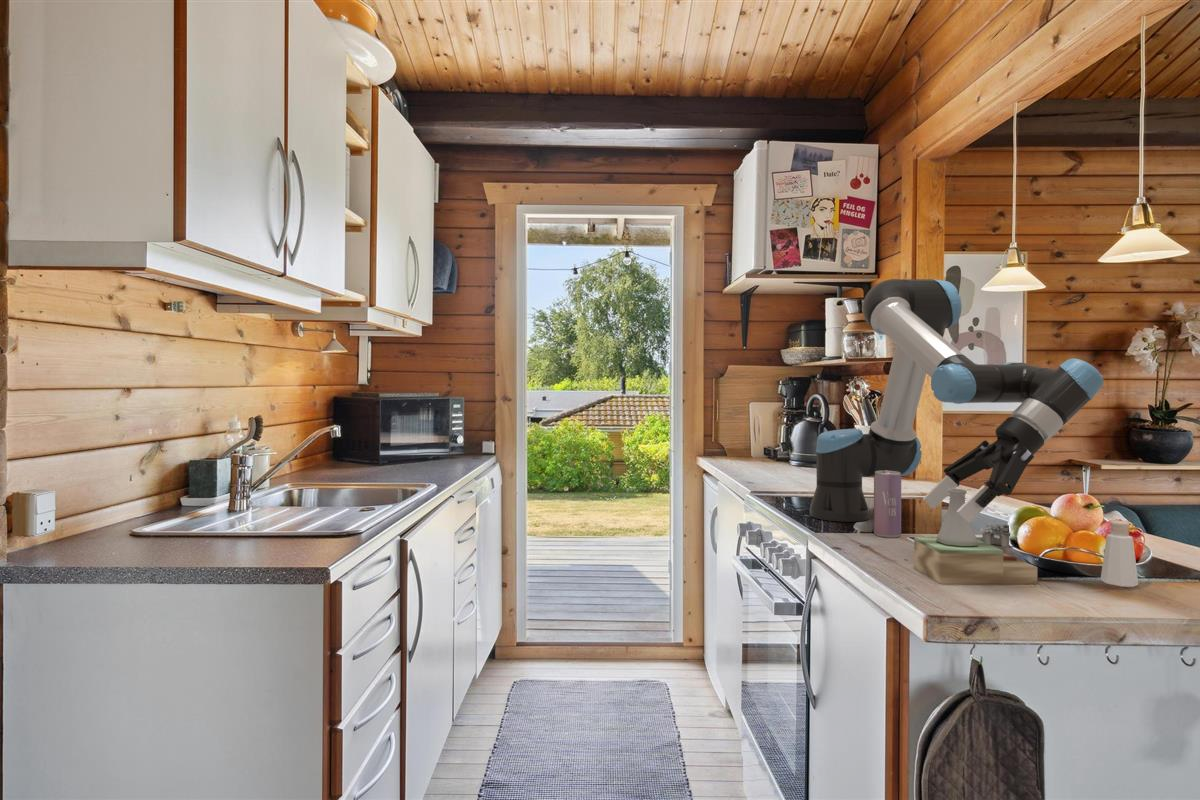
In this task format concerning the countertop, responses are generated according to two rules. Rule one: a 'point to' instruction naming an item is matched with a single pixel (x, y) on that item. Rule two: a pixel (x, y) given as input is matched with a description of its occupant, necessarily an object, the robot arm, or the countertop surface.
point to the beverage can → (887, 504)
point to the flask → (956, 523)
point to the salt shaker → (1119, 557)
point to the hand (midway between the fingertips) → (944, 510)
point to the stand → (970, 564)
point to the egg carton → (996, 534)
